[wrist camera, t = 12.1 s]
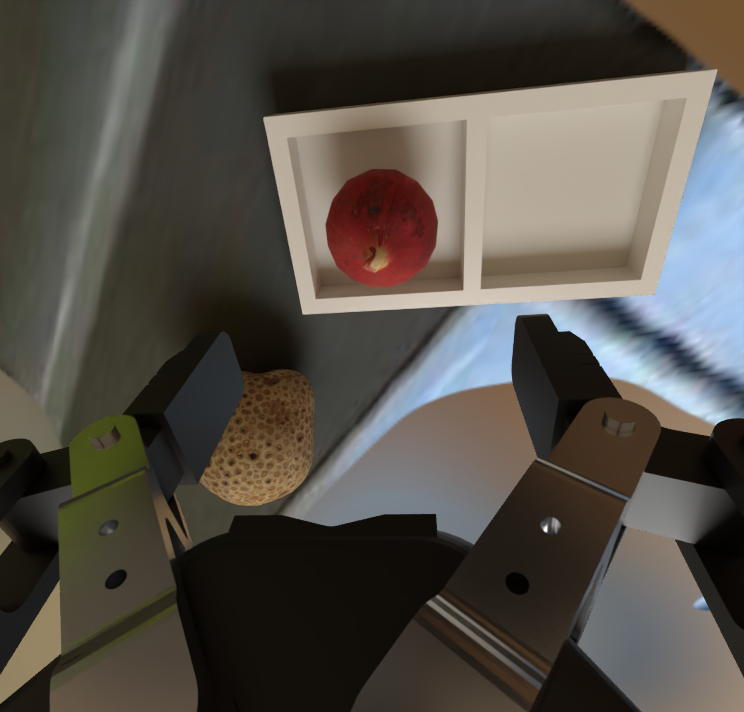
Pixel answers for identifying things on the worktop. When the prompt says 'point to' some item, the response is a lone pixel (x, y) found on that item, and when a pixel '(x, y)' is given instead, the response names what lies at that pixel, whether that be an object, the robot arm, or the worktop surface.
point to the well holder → (502, 188)
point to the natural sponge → (265, 440)
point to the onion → (381, 228)
